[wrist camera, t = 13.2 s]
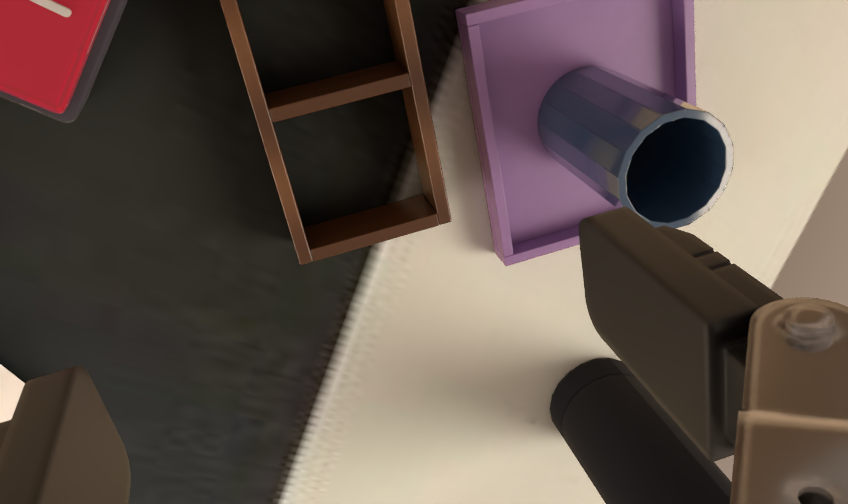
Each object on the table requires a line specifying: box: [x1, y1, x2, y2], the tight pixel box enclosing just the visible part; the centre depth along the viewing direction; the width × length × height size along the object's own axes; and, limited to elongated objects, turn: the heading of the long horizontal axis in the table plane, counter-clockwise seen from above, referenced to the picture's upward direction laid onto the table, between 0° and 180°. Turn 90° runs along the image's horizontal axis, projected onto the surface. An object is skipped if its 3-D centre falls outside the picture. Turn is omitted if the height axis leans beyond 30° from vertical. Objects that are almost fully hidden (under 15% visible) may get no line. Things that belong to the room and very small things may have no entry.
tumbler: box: [537, 66, 733, 229], centre depth 38 cm, size 6×6×10 cm
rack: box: [220, 0, 451, 265], centre depth 37 cm, size 16×8×3 cm, turn 11°
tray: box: [455, 0, 696, 266], centre depth 42 cm, size 14×12×2 cm
